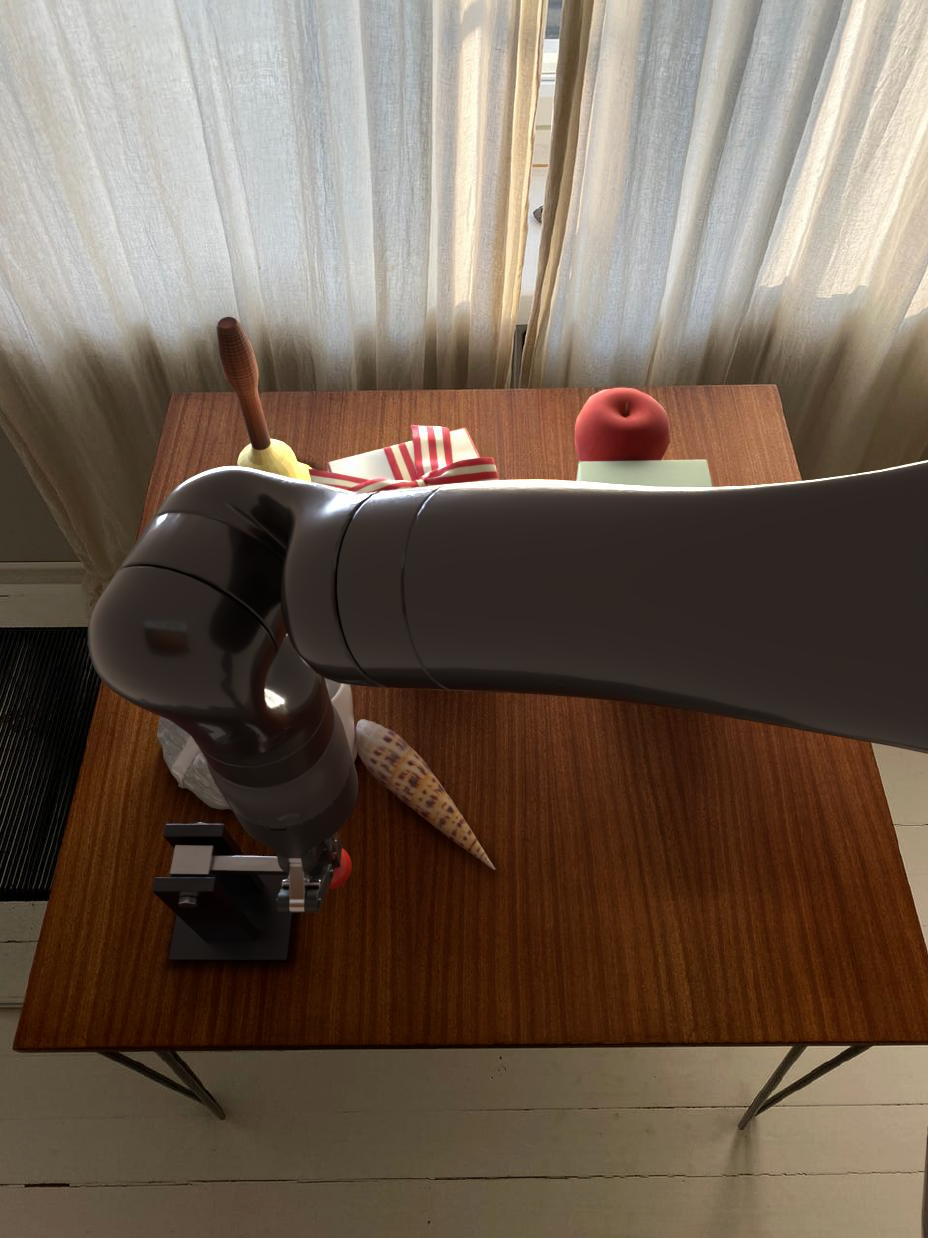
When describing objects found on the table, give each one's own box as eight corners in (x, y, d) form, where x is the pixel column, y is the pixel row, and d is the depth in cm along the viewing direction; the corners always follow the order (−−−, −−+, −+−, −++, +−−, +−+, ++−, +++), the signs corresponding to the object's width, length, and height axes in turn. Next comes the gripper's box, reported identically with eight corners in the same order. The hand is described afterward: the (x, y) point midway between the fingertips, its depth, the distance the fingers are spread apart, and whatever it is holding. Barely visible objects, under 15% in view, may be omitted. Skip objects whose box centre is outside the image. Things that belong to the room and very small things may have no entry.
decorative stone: (307, 751, 85) (296, 724, 80) (232, 832, 81) (216, 808, 76) (213, 681, 89) (198, 650, 84) (137, 754, 85) (116, 726, 80)
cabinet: (716, 642, 92) (737, 594, 84) (584, 644, 92) (594, 596, 84) (689, 512, 101) (706, 459, 94) (571, 514, 101) (578, 461, 94)
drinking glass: (295, 726, 87) (265, 647, 74) (364, 719, 87) (345, 639, 74) (296, 790, 83) (264, 718, 70) (367, 783, 83) (348, 710, 71)
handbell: (343, 471, 105) (311, 293, 85) (307, 549, 99) (263, 376, 78) (248, 452, 107) (195, 273, 86) (207, 528, 101) (137, 353, 80)
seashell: (381, 725, 87) (376, 701, 82) (509, 858, 79) (511, 839, 75) (346, 753, 85) (339, 730, 81) (473, 892, 77) (473, 874, 73)
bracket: (299, 869, 79) (264, 804, 65) (289, 963, 74) (249, 913, 61) (188, 869, 79) (131, 804, 66) (172, 963, 74) (107, 912, 61)
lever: (354, 853, 67) (351, 839, 65) (351, 894, 66) (348, 882, 63) (184, 850, 67) (175, 836, 64) (177, 892, 65) (166, 879, 63)
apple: (672, 500, 102) (693, 427, 93) (585, 517, 101) (597, 444, 91) (640, 435, 108) (657, 360, 99) (557, 450, 107) (566, 375, 97)
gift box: (454, 497, 103) (451, 384, 89) (521, 616, 94) (530, 511, 79) (317, 543, 99) (290, 432, 85) (372, 671, 90) (353, 571, 76)
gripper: (235, 660, 53) (286, 774, 68) (197, 877, 46) (264, 953, 60) (358, 660, 53) (383, 774, 67) (340, 878, 46) (372, 953, 60)
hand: (327, 858), depth 64 cm, fingers closed
